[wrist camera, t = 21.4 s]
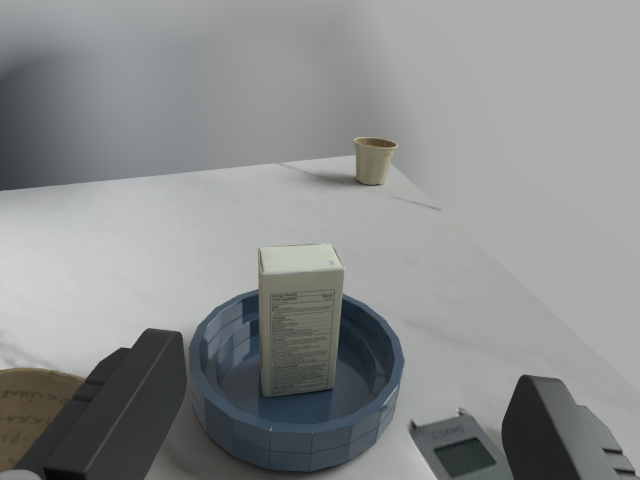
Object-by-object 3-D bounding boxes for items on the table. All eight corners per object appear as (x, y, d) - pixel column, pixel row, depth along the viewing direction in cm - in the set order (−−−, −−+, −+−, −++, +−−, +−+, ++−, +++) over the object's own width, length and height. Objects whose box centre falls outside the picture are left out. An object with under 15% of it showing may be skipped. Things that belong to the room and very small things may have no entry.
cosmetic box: (323, 356, 39) (336, 241, 33) (334, 391, 35) (350, 268, 30) (255, 362, 38) (256, 243, 32) (259, 399, 34) (261, 271, 28)
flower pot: (386, 175, 95) (392, 138, 91) (396, 189, 87) (402, 149, 83) (346, 173, 94) (350, 135, 90) (352, 187, 86) (357, 146, 82)
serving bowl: (406, 346, 42) (414, 310, 40) (372, 515, 27) (382, 470, 25) (251, 304, 46) (251, 270, 44) (145, 429, 31) (138, 385, 29)
